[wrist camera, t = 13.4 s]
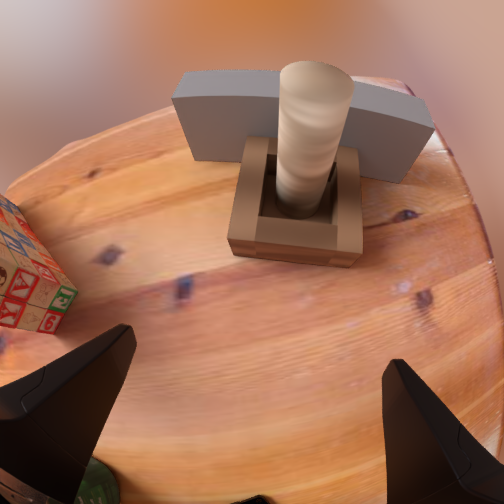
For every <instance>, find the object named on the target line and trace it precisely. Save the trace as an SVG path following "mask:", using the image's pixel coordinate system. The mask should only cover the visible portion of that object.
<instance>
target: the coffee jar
mask: <svg viewBox="0 0 504 504" xmlns="http://www.w3.org/2000/svg"><path fill="white" fill-rule="evenodd" d="M86 468H87V469H86V472H85V474H84V477H83V479H82V482H81V485H80V487H79V490H78V493H77V496H76V499H75V501H74V504H119V503H120V496H119V488H118V484H117V481H116V479H115V477H114V476H113V474H112V473H111V471H110V470H109V469H108V467H106V466H105V465H104V464H103V463H101V462H100V461H98V460H96V459H95V458H93V457H91V458H90V461H89V463H88V466H87V467H86ZM48 502H49V504H63V503H61V502H59V501H56V500H54V499H52V498H50V497H49V498H48Z"/></svg>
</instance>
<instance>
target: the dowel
mask: <svg viewBox="0 0 504 504" xmlns="http://www.w3.org/2000/svg"><path fill="white" fill-rule="evenodd" d="M354 88H355V86H354V82H353V80H352V79H351V77H350V76H349V75H348V74H346V73H345V72H343V71H342V70H340V69H339V68H337V67H334V66H332V65H329V64H325V63H322V62H316V61H300V62H295V63H291V64H289V65H287V66H286V67H284V68H283V69H282V70H281V73H280V95H279V127H278V153H277V176H276V196H275V200H276V205H277V207H278V209H279V210H280V211H281V212H282V213H283V214H284V215H286V216H287V217H290V218H293V219H305V218H308V217H310V216H312V215H313V214H314V213H315V212H316V211H317V209H318V207H319V204H320V201H321V198H322V195H323V192H324V189H325V186H326V183H327V180H328V177H329V174H330V171H331V167H332V164H333V161H334V158H335V155H336V151H337V148H338V145H339V141H340V138H341V135H342V131H343V128H344V124H345V121H346V117H347V114H348V110H349V107H350V103H351V99H352V96H353V92H354Z"/></svg>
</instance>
